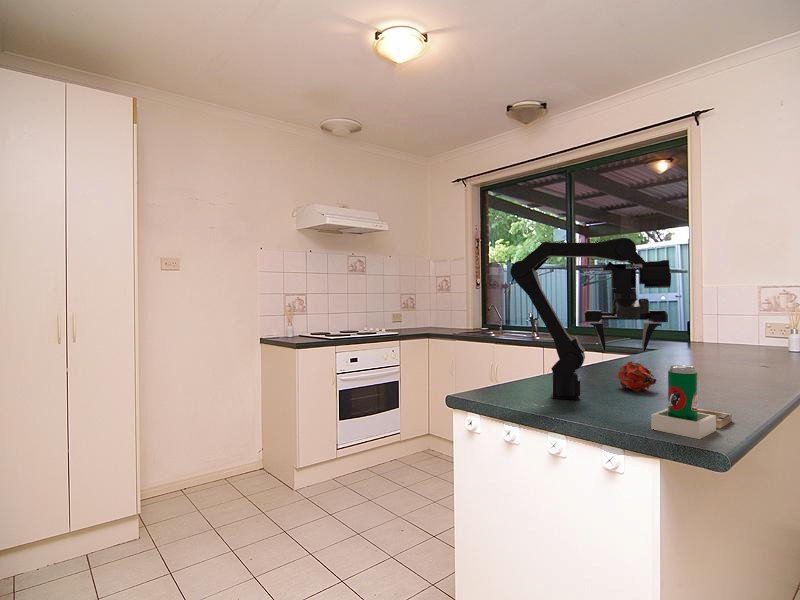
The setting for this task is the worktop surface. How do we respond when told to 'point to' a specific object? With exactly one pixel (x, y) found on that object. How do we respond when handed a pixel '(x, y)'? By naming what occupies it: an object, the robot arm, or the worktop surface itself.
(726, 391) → the worktop surface
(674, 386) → the soda can
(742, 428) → the worktop surface
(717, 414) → the checker cradle
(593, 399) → the worktop surface
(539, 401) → the worktop surface
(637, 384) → the dragon fruit
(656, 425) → the bin
